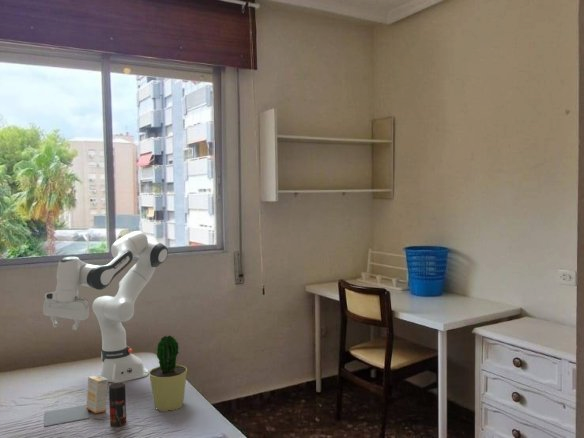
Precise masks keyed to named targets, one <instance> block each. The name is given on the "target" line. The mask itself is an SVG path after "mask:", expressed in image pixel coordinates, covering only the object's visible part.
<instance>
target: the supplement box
mask: <svg viewBox="0 0 584 438" xmlns="http://www.w3.org/2000/svg"><path fill="white" fill-rule="evenodd" d="M108 383H109V382H108V379H106V378H104V377H102V376H101V374H97V375H90V376H88V378H87V390H86V392H87V395H86V405H87V407H86V408H87V409H88V411H91V412H92V413H93V414H99V413H103V412H107V399H108V398H107V396H108Z"/></svg>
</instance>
